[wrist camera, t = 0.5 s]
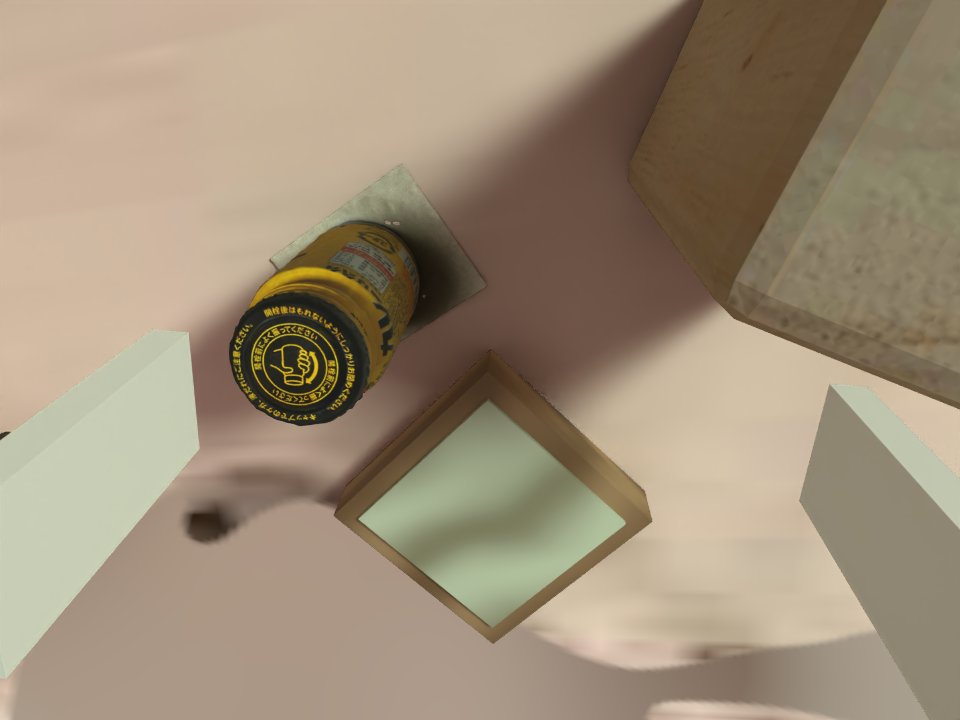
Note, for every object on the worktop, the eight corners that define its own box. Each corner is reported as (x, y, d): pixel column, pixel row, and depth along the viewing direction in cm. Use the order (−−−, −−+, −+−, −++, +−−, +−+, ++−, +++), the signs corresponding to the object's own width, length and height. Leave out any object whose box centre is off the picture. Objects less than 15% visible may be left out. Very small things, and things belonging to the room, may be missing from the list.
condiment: (271, 258, 39) (166, 340, 28) (402, 162, 37) (345, 211, 25) (358, 367, 41) (292, 485, 30) (487, 284, 39) (469, 377, 27)
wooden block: (717, -38, 32) (962, -159, 14) (923, 52, 33) (1414, 53, 15) (617, 181, 36) (705, 317, 18) (804, 258, 37) (1077, 465, 18)
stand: (346, 486, 44) (332, 518, 40) (490, 349, 40) (487, 374, 37) (495, 608, 46) (492, 647, 43) (644, 490, 42) (653, 524, 39)
